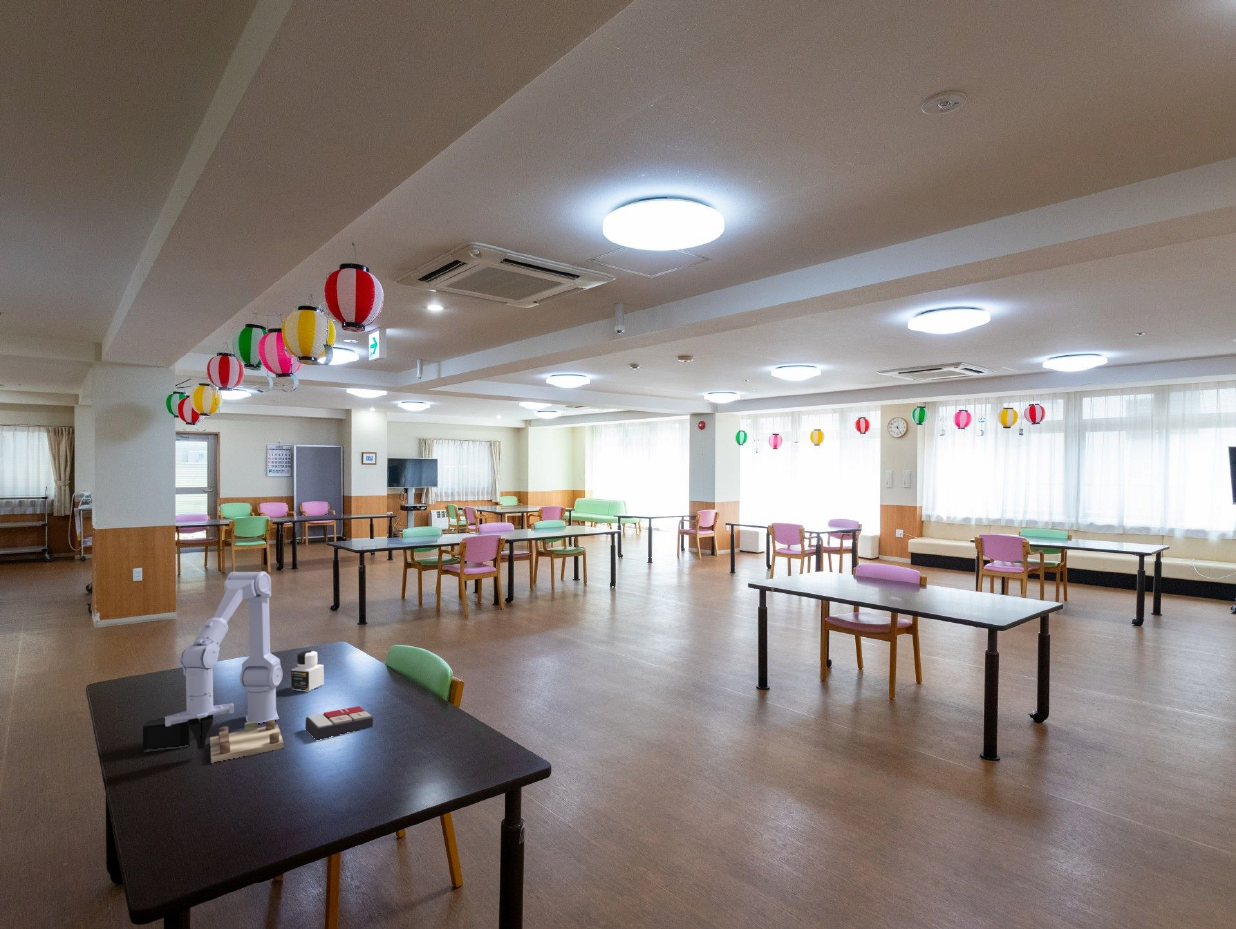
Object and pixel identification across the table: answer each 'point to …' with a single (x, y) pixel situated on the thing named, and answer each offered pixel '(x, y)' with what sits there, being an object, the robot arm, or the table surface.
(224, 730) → the folding leg
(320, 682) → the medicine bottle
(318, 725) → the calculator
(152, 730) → the digital camera
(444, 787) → the table surface
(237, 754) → the stool seat
